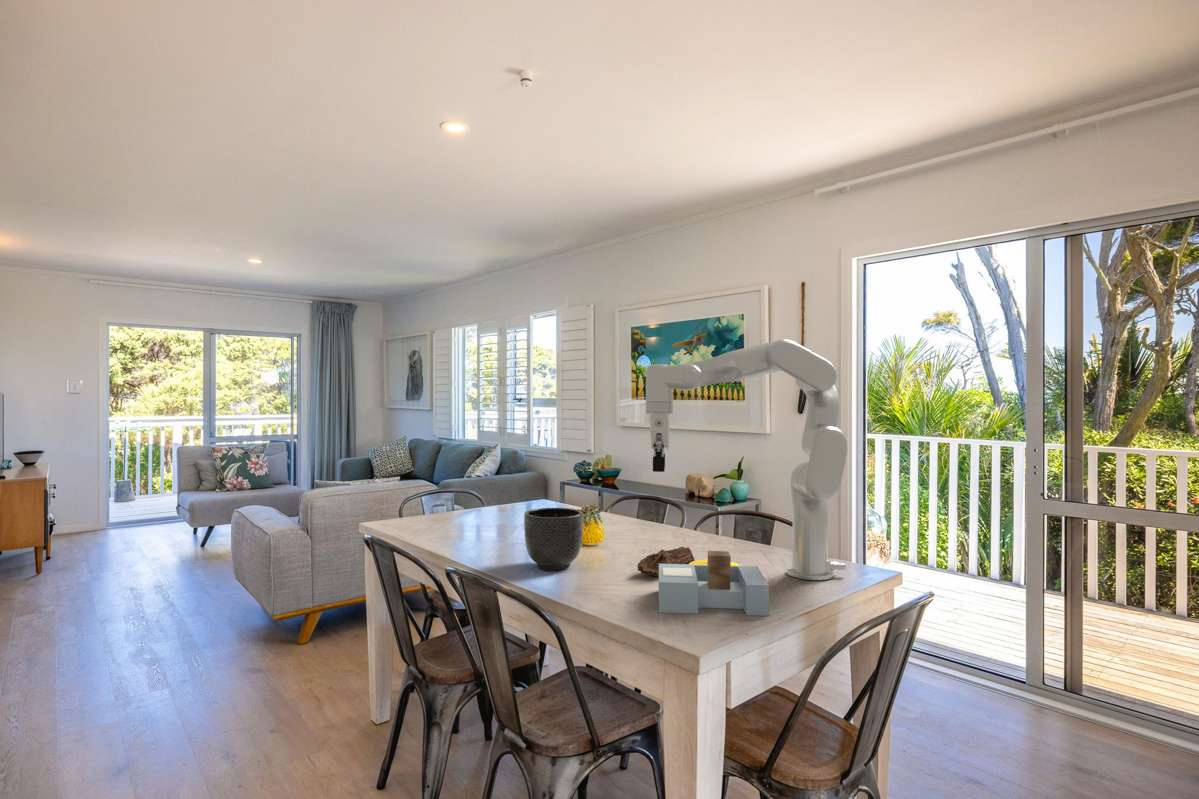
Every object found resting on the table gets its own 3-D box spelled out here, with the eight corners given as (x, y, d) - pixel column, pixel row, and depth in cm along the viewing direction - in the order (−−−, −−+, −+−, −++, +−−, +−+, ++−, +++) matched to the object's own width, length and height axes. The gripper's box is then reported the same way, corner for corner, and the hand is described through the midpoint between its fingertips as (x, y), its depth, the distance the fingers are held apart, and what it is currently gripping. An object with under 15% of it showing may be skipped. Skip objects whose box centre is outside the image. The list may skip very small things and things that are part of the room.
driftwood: (660, 582, 179) (661, 553, 179) (634, 578, 183) (635, 549, 183) (695, 565, 198) (696, 538, 198) (671, 561, 202) (671, 535, 202)
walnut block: (728, 583, 164) (728, 551, 163) (730, 589, 159) (730, 556, 158) (707, 583, 164) (707, 550, 164) (709, 589, 159) (709, 555, 159)
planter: (594, 568, 193) (595, 513, 192) (545, 578, 182) (545, 520, 182) (560, 557, 206) (560, 505, 206) (512, 565, 195) (512, 511, 195)
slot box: (757, 593, 169) (757, 565, 169) (768, 615, 152) (768, 584, 152) (658, 590, 171) (658, 562, 171) (659, 612, 154) (659, 580, 154)
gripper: (672, 409, 177) (672, 473, 177) (672, 408, 194) (672, 466, 194) (644, 409, 178) (644, 473, 178) (647, 407, 195) (646, 466, 195)
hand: (658, 469), depth 186 cm, fingers open, 9 cm apart
